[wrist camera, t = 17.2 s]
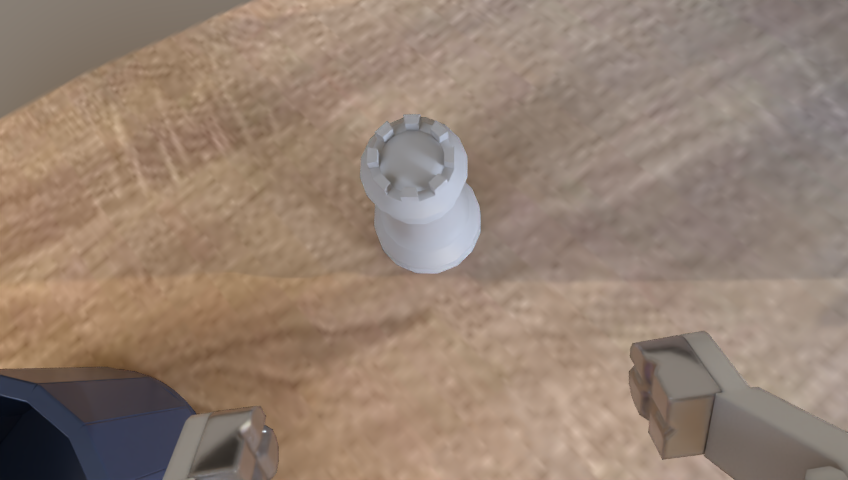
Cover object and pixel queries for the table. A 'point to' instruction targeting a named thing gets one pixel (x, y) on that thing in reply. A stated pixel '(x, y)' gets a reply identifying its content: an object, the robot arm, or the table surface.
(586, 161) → the table surface
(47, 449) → the tin
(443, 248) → the rook chess piece
